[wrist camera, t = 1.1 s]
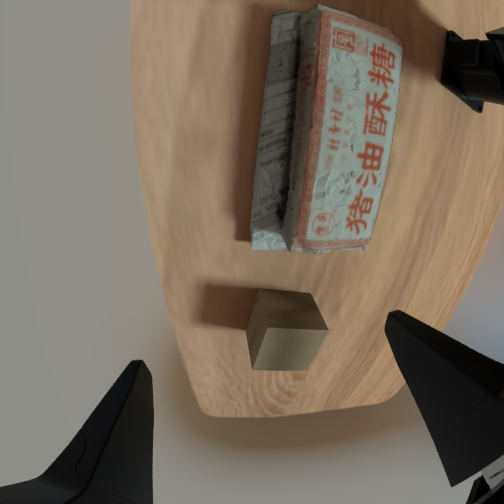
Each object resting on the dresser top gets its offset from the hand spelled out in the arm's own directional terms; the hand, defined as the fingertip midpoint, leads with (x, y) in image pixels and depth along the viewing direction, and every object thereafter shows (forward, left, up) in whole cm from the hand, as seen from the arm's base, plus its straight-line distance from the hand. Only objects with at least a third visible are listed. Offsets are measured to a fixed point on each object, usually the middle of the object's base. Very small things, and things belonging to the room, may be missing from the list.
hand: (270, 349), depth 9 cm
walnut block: (-6, +9, -13) cm, 17 cm away
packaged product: (-5, -7, -14) cm, 16 cm away
